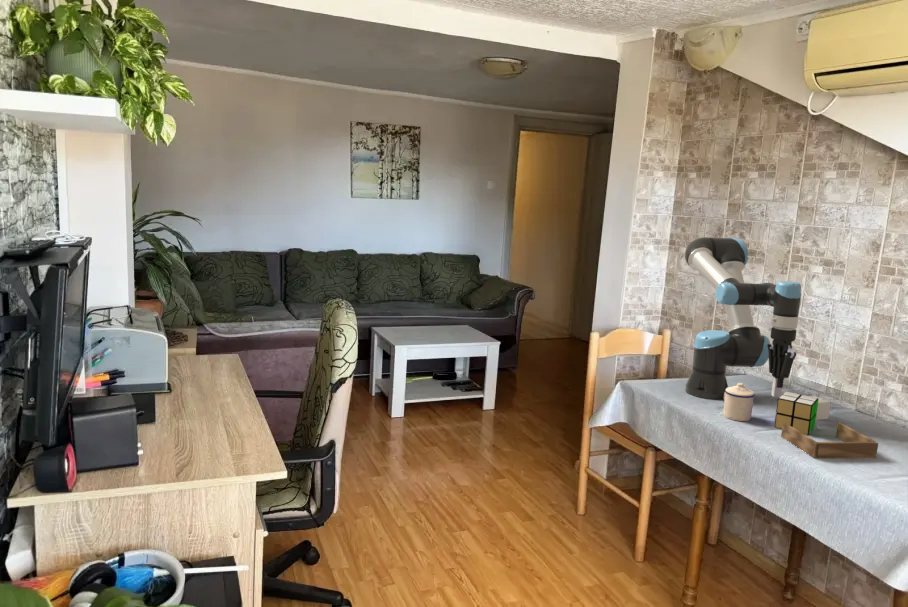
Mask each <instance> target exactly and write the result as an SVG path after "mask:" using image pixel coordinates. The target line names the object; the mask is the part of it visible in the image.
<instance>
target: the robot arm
mask: <svg viewBox="0 0 908 607" xmlns="http://www.w3.org/2000/svg"><path fill="white" fill-rule="evenodd" d="M748 256H749V249H748V247H747V245H746V243H745V242H744V241H743V240H742V239H740V238H733V237H709V236H707V237H705V236H704V237H699V238H697V239H694V240H693V241H691V242H690V243H689V244H688V245H687V247H686V249H685V251H684V259H685V262H686V263H687V265H688V266H689V267H690V269H692V270H695V271H697V272H698V273H700V275H701V276H702V277H703V278H704V279H705V280H706V281H707V282H708V283H709V284H710V285H711V286H712V287H713V288H714V290H715V298H716V302H717V303H718V304H720V305H724V308H725V313H726V318H727V323H728V327H729V330H728V331H727V330H721V329H720V330H717V329H714V330H713V329H709V330H703V331H701V332H700V331H699V332H698V333H697V334H696V336H695V341H694V344H693V359H692V369H691V372H690V375H689V377H688V379H687V380H686V383H685V389H684V390H685V392H686V393H688V394H689V395H692V396H693V397H694V396H695V397H698V398H703V399H709V400H721V399H723V400H724V393H725V390H726V388H728V387H729V385H728V381H727V377H726V376H727V374H726V373H727V372H726V371H727V367H733V368H734V367H740V368H742V367H743V368H745V367H746V368H754V367H755V368H756V367H763V366H764V365H765V364H766V363H767V362H768V372H769V374H771V375H772V380H771V381H772V383H771V384H772V387H771V396H772V397H774V398H775V397H777V398H779V397H780V396H781V395H782V394H783V387H784V380H785V379H789V378H790V375H791V370H792V366H793V363H794V359H795V358H796V356H797V352H796V351H793V350H792V349H793V345H792V343H793V342H795V341H796V338H797V330H796V329H797V328H798V323H799V322H798V321H799V312H800V305H801V298H802V293H801V292H802V284H801V283H800V282H797V281H790V280H781V281H780V280H779V281H777V282H776V284H775V283H773V282H760V283H750V282H749V283H748V282H746V283H745V280H744V276H743V275H744V274H743V272H742V271H743V270H744V269H745V266H746V265H747V263H748V261H749V257H748ZM751 306H768V307H772V308H773V312H772V319H771V320H772V321H771V325H772V327H771V329H770V339H772V343H771V342H770V339H769V337H767V336H766V335H763V334H761V331H760V327H758V326H756V325H755V323H754V319H753V315H752V311H751Z"/></svg>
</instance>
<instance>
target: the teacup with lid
mask: <svg viewBox="0 0 908 607" xmlns="http://www.w3.org/2000/svg"><path fill="white" fill-rule="evenodd" d="M755 395H756V394H755V392H754V391H753V390H751V389H749V388H747V387H746V386H745V385H744V383H742V382H738V383H737V384H736V385H733V386H728V388H726V390H725V393H724V398H723V400H724V401H723V402H724V405H723V414H722V415H723V416H724V417H725V418H727V419H729V420H733V421H738V422H748V421H750V420H751V419H752V413H753V403H754V397H755Z"/></svg>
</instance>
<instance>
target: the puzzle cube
mask: <svg viewBox="0 0 908 607" xmlns="http://www.w3.org/2000/svg"><path fill="white" fill-rule="evenodd" d="M816 397H817V396H816ZM816 397H813V396H810V395H805V394H800V393H795V392H791V391H790V392H789V391H785V392H782V395H781V396H780V397H777V400H776V401H777V402H776V408H775V409H776V411H775V415H774V418H775V419H774V425H773V426H774V428H777V429H780V430H782V426H783V423H787V424H788V425H790V426H792V427H793V428H795V429H797V430H798V431H800V432H801V433H803V434H807V435H806V436H809V435H810V434H811V433H812V431H813V430H814V429H815V427H816V421H817V420H816V415H817V414H816V412H817V407H818V400H819V399H818V398H816Z"/></svg>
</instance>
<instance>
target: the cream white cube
mask: <svg viewBox="0 0 908 607" xmlns="http://www.w3.org/2000/svg"><path fill="white" fill-rule="evenodd" d="M812 397H816V398H818V399H819V400H818V407H817V412H816V414H817V415H816V421H819V420H820V421H821V420H825V419H829V417H830V416H829V415H830V412H831V411H830V410H831V401H830V400H827V399H824V398H821V397H820V396H819V397H818V396H815V395H814V396H812Z"/></svg>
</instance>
